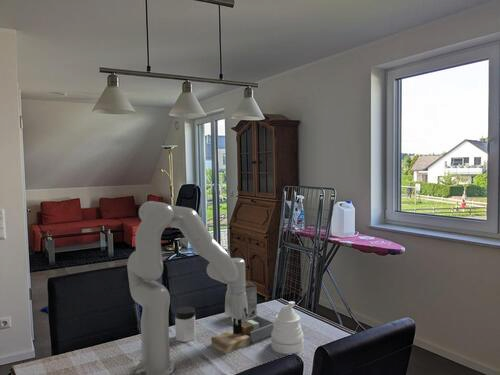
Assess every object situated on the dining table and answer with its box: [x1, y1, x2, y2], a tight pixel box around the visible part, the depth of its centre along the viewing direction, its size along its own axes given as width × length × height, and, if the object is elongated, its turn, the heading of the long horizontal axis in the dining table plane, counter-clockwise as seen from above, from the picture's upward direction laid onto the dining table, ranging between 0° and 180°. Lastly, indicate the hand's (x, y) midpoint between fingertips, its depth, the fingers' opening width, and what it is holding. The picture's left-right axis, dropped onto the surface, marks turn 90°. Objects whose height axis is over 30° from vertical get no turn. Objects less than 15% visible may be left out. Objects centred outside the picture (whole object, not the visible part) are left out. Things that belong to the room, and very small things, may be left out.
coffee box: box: [245, 279, 258, 319], centre depth 189 cm, size 9×6×16 cm
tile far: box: [246, 320, 259, 335], centre depth 167 cm, size 5×5×3 cm
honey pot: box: [270, 300, 305, 355], centre depth 157 cm, size 13×13×18 cm
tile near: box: [241, 322, 254, 335], centre depth 165 cm, size 5×5×3 cm
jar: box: [174, 306, 197, 343], centre depth 167 cm, size 9×8×12 cm
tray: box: [243, 314, 275, 345], centre depth 168 cm, size 14×12×5 cm
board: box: [210, 329, 251, 354], centre depth 160 cm, size 12×10×3 cm
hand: (237, 332), depth 162 cm, fingers closed
